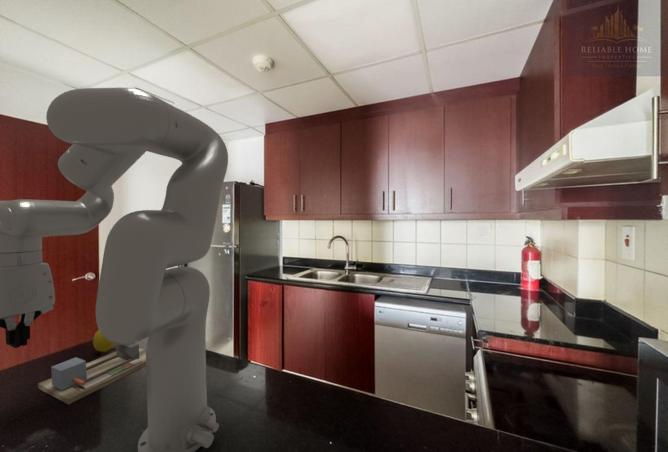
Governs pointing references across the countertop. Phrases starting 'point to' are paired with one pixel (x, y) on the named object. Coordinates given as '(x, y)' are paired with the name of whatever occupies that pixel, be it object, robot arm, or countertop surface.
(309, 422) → the countertop surface
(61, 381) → the slider block with pointer
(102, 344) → the lemon
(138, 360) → the gauge board
